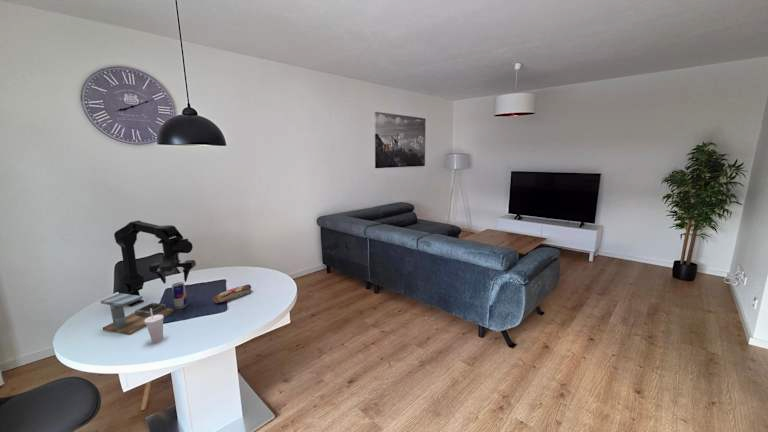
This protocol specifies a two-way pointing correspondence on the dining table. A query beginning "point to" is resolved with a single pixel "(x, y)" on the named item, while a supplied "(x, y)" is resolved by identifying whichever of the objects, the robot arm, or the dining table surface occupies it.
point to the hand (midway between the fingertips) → (175, 282)
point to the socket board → (133, 320)
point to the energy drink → (179, 295)
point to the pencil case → (232, 293)
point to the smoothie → (155, 326)
